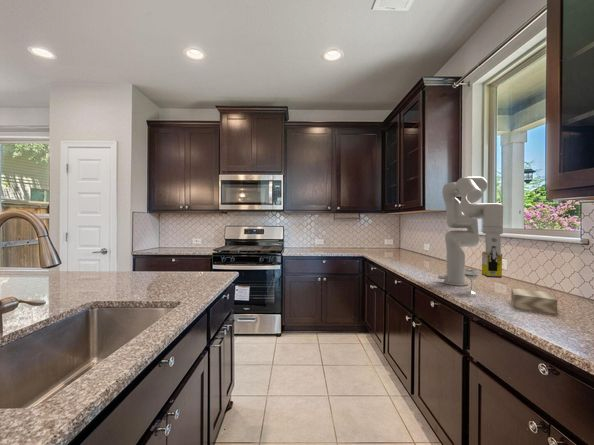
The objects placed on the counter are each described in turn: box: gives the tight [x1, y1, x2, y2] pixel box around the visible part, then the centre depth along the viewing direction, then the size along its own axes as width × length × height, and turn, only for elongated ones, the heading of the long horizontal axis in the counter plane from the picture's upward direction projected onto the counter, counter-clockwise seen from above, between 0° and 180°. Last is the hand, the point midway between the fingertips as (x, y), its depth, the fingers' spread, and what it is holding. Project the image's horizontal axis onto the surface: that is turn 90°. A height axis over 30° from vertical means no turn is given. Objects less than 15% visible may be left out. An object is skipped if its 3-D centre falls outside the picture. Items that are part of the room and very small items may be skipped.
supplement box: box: [481, 251, 503, 279], centre depth 130 cm, size 6×6×11 cm
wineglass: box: [464, 268, 480, 295], centre depth 149 cm, size 7×7×12 cm
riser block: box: [510, 287, 558, 314], centre depth 125 cm, size 14×14×6 cm
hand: (491, 269), depth 130 cm, fingers closed on supplement box, 7 cm apart
